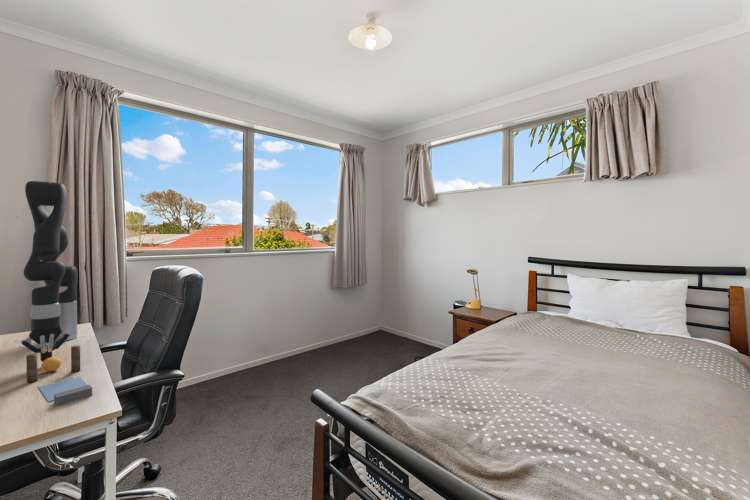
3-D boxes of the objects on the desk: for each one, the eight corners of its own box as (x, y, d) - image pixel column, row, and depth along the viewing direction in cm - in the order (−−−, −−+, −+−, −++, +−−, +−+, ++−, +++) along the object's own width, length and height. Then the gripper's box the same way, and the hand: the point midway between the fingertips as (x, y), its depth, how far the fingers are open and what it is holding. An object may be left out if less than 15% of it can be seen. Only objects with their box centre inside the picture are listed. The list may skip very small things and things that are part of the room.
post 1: (26, 381, 107) (25, 355, 107) (36, 379, 109) (36, 353, 109) (27, 383, 106) (27, 356, 105) (38, 381, 108) (37, 354, 107)
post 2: (70, 371, 116) (70, 346, 116) (79, 369, 118) (79, 344, 118) (72, 373, 115) (72, 348, 114) (81, 370, 117) (81, 346, 116)
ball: (44, 365, 111) (42, 376, 113) (64, 361, 116) (62, 371, 117) (40, 356, 114) (39, 367, 115) (59, 352, 118) (58, 363, 119)
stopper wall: (54, 402, 96) (54, 394, 95) (89, 392, 102) (89, 384, 102) (56, 406, 94) (56, 397, 94) (92, 395, 100) (92, 387, 100)
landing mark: (38, 387, 104) (38, 387, 104) (79, 377, 112) (79, 376, 112) (48, 402, 96) (48, 401, 96) (91, 389, 104) (91, 389, 104)
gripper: (67, 310, 126) (67, 354, 127) (17, 317, 115) (17, 364, 116) (72, 314, 122) (73, 359, 123) (21, 321, 111) (21, 370, 112)
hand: (46, 361), depth 119 cm, fingers closed
